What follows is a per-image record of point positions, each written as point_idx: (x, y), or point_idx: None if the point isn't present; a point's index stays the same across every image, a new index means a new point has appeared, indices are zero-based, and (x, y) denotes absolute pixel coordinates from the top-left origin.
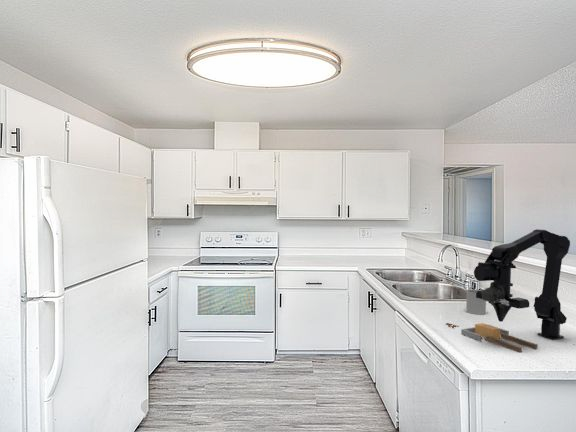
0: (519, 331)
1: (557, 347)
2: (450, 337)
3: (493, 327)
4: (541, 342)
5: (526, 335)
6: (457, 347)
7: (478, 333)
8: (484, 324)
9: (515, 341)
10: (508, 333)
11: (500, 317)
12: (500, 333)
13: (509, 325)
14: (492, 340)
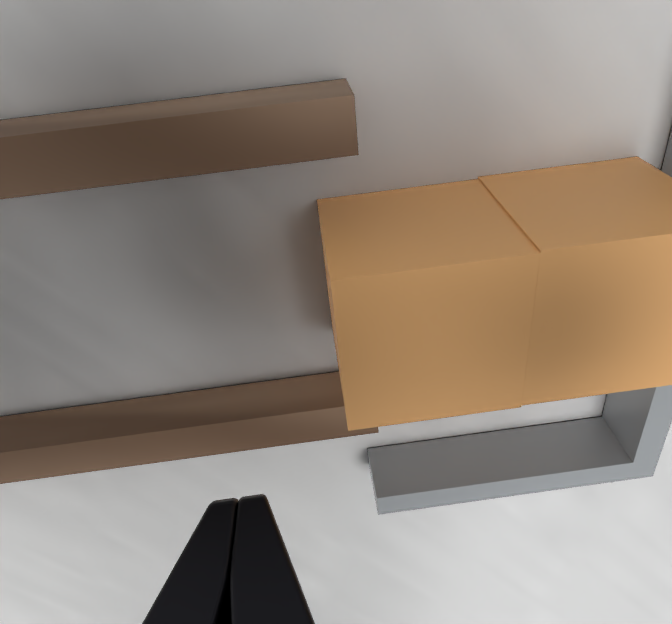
0: (438, 602)
1: None
2: None
3: (431, 377)
4: (128, 584)
5: (331, 590)
6: None
7: (582, 174)
8: (619, 354)
9: (155, 404)
10: (373, 486)
11: (178, 596)
12: (458, 441)
13: (587, 620)
14: (197, 103)
